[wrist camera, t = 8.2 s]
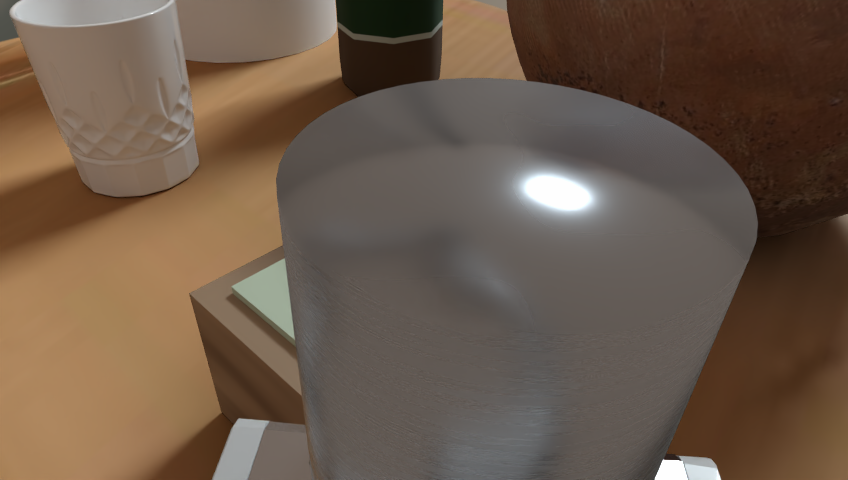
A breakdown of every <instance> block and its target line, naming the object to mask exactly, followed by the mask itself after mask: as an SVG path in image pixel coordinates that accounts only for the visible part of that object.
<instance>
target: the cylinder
mask: <svg viewBox="0 0 848 480" xmlns="http://www.w3.org/2000/svg"><path fill="white" fill-rule="evenodd" d="M176 6H177V12H178V18H179V24H180V30H181V36H182V42H183V48H184V54H185V59H186V60H190V61H200V62H213V63H234V62H252V61H260V60H269V59H275V58H280V57H284V56H289V55H293V54H298V53H300V52H303V51H306V50H309V49H312V48H314V47H317V46H319V45H320V44H322V43H324V42H325V41H327V40H329V39H330V38H331V37H332V36H333V34H334V33H335V32H336V25H337V23H336V8H335V0H176Z"/></svg>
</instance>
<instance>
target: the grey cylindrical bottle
mask: <svg viewBox="0 0 848 480" xmlns="http://www.w3.org/2000/svg"><path fill="white" fill-rule="evenodd" d="M276 184H277V199H278V207H279V215H280V224H281V232H282V240H283V248H284V256H285V264H286V272H287V280H288V288H289V296H290V305H291V313H292V321H293V329H294V337H295V345H296V353H297V361H298V369H299V378H300V386H301V394H302V402H303V410H304V418H305V426H306V434H307V442H308V450H309V459H310V467H311V475H312V480H655V478H656V476H657V474H658V471H659V469H660V467H661V464H662V462H663V460H664V457H665V455H666V453H667V450H668V448H669V446H670V443H671V441H672V439H673V436H674V434H675V432H676V429H677V427H678V424H679V422H680V420H681V417H682V415H683V413H684V410H685V408H686V406H687V403H688V401H689V399H690V396H691V394H692V392H693V389H694V387H695V385H696V382H697V380H698V378H699V375H700V373H701V371H702V368H703V366H704V364H705V361H706V359H707V357H708V354H709V352H710V350H711V347H712V345H713V343H714V340H715V338H716V336H717V333H718V331H719V329H720V326H721V324H722V322H723V319H724V317H725V315H726V312H727V310H728V308H729V305H730V303H731V301H732V298H733V296H734V294H735V291H736V289H737V287H738V284H739V282H740V280H741V277H742V275H743V273H744V270H745V268H746V266H747V263H748V261H749V259H750V256H751V253H752V251H753V248H754V246H755V243H756V239H757V229H758V221H757V215H756V209H755V205H754V203H753V200H752V198H751V195H750V193H749V191H748V189H747V187H746V186H745V184H744V183H743V181H742V180H741V178H740V177H739V175H738V174H737V173H736V172H735V170H734V169H733V168H732V167H731V166H730V165H729V164H728V163H727V162H726V161H725V160H724V159H723V158H722V157H721V156H720V155H719V154H718V153H716V152H715V151H714V150H713V149H712V148H711V147H709V146H708V145H707V144H705V143H704V142H702V141H701V140H699V139H698V138H697V137H695V136H694V135H692V134H691V133H689V132H687V131H686V130H684V129H682V128H680V127H679V126H677V125H675V124H673V123H672V122H670V121H667V120H665V119H663V118H661V117H659V116H657V115H655V114H653V113H651V112H648V111H646V110H643V109H640V108H638V107H635V106H633V105H630V104H628V103H625V102H622V101H618V100H615V99H612V98H609V97H606V96H602V95H599V94H595V93H591V92H587V91H583V90H579V89H574V88H569V87H564V86H559V85H553V84H546V83H540V82H532V81H522V80H513V79H493V78H462V79H443V80H434V81H425V82H417V83H412V84H406V85H400V86H396V87H391V88H387V89H383V90H379V91H376V92H373V93H369V94H366V95H363V96H360V97H357V98H355V99H353V100H350V101H348V102H345V103H343V104H341V105H339V106H337V107H335V108H333V109H331V110H329V111H328V112H326V113H324V114H322V115H321V116H320V117H318V118H317V119H315V120H314V121H312V122H311V123H309V124H308V125H307V126H306V127H305V128H304V129H303V130H302V131H301V132H300V133H299V134H298V135H297V136H296V137H295V138H294V139H293V141H292V142H291V143H290V145H289V146H288V147H287V149H286V151H285V153H284V155H283V157H282V159H281V161H280V163H279V168H278V173H277V178H276Z"/></svg>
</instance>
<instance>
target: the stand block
mask: <svg viewBox="0 0 848 480" xmlns="http://www.w3.org/2000/svg"><path fill="white" fill-rule="evenodd" d="M189 295H190V298H191V302H192V306H193V309H194V313H195V317H196V320H197V324H198V328H199V331H200V335H201V339H202V342H203V346H204V350H205V353H206V357H207V361H208V364H209V368H210V372H211V375H212V379H213V383H214V386H215V390H216V394H217V397H218V401H219V405H220V408H221V412H222V413H223V414H224V415H225V416H226V417H227V418H228V419H229V420H230V421H231V422H232V423H233V424H235V423H236V421H237V420H238V419H239V418H240V419H252V420H264V421H272V422H282V423H292V424H302V425H305V418H304V410H303V402H302V394H301V386H300V378H299V369H298V361H297V353H296V345H295V337H294V329H293V321H292V313H291V305H290V296H289V288H288V280H287V272H286V264H285V256H284V248H283V246H281V247H279V248H277V249H275V250H273V251H271V252H269V253H267V254H265V255H263V256H261V257H259V258H257V259H255V260H253V261H251V262H249V263H247V264H246V265H244V266H242V267H240V268H238V269H236V270H234V271H232V272H230V273H228V274H226V275H224V276H222V277H220V278H218V279H216V280H214V281H212V282H210V283H209V284H207V285H205V286H203V287H201V288H199V289H197V290H195V291H193V292H191V293H189Z"/></svg>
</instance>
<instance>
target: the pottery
mask: <svg viewBox="0 0 848 480" xmlns="http://www.w3.org/2000/svg"><path fill="white" fill-rule="evenodd" d="M507 12H508V17H509V23H510V28H511V33H512V37H513V40H514V44H515V47H516V51H517V54H518V58H519V61H520V64H521V67H522V69H523V72H524V75H525V77H526V80H527V81H532V82H540V83H546V84H553V85H559V86H564V87H569V88H574V89H579V90H583V91H587V92H591V93H595V94H599V95H602V96H606V97H609V98H612V99H615V100H618V101H622V102H625V103H628V104H630V105H633V106H635V107H638V108H640V109H643V110H646V111H648V112H651V113H653V114H655V115H657V116H659V117H661V118H663V119H665V120H667V121H670V122H672V123H673V124H675V125H677V126H679V127H680V128H682V129H684V130H686V131H687V132H689V133H691V134H692V135H694V136H695V137H697V138H698V139H699V140H701V141H702V142H704V143H705V144H707V145H708V146H709V147H711V148H712V149H713V150H714V151H715V152H716V153H718V154H719V155H720V156H721V157H722V158H723V159H724V160H725V161H726V162H727V163H728V164H729V165H730V166H731V167H732V168H733V169H734V170H735V172H736V173H737V174H738V175H739V177H740V178H741V180H742V181H743V183H744V184H745V186H746V187H747V189H748V191H749V193H750V195H751V198H752V200H753V203H754V205H755V209H756V215H757V221H758V229H757V237H768V236H776V235H782V234H786V233H789V232H792V231H795V230H799V229H802V228H805V227H808V226H811V225H814V224H817V223H820V222H823V221H826V220H830V219H833V218H836V217H839V216H842V215H845V214H848V0H507Z"/></svg>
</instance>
